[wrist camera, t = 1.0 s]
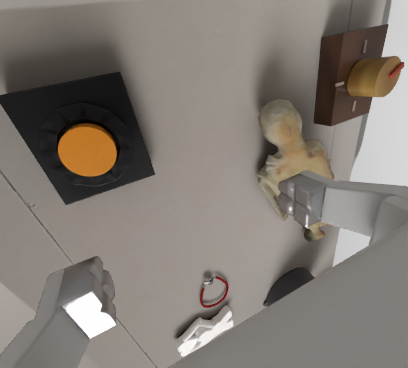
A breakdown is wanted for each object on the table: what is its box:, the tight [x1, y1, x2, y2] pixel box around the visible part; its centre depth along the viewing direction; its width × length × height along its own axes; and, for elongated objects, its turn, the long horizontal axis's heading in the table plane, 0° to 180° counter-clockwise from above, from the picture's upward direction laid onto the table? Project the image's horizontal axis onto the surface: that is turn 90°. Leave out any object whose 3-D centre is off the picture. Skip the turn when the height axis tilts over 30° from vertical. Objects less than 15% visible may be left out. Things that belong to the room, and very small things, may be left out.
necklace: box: [200, 276, 229, 308], centre depth 38 cm, size 9×6×1 cm
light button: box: [58, 123, 117, 176], centre depth 17 cm, size 4×4×2 cm
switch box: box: [0, 72, 155, 205], centre depth 19 cm, size 10×9×4 cm
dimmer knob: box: [347, 56, 404, 97], centre depth 26 cm, size 4×4×4 cm
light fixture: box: [264, 268, 314, 307], centre depth 44 cm, size 13×16×14 cm
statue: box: [257, 99, 334, 241], centre depth 32 cm, size 10×7×30 cm
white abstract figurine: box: [176, 305, 233, 356], centre depth 41 cm, size 9×12×2 cm
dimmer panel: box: [314, 24, 388, 126], centre depth 29 cm, size 11×9×3 cm
